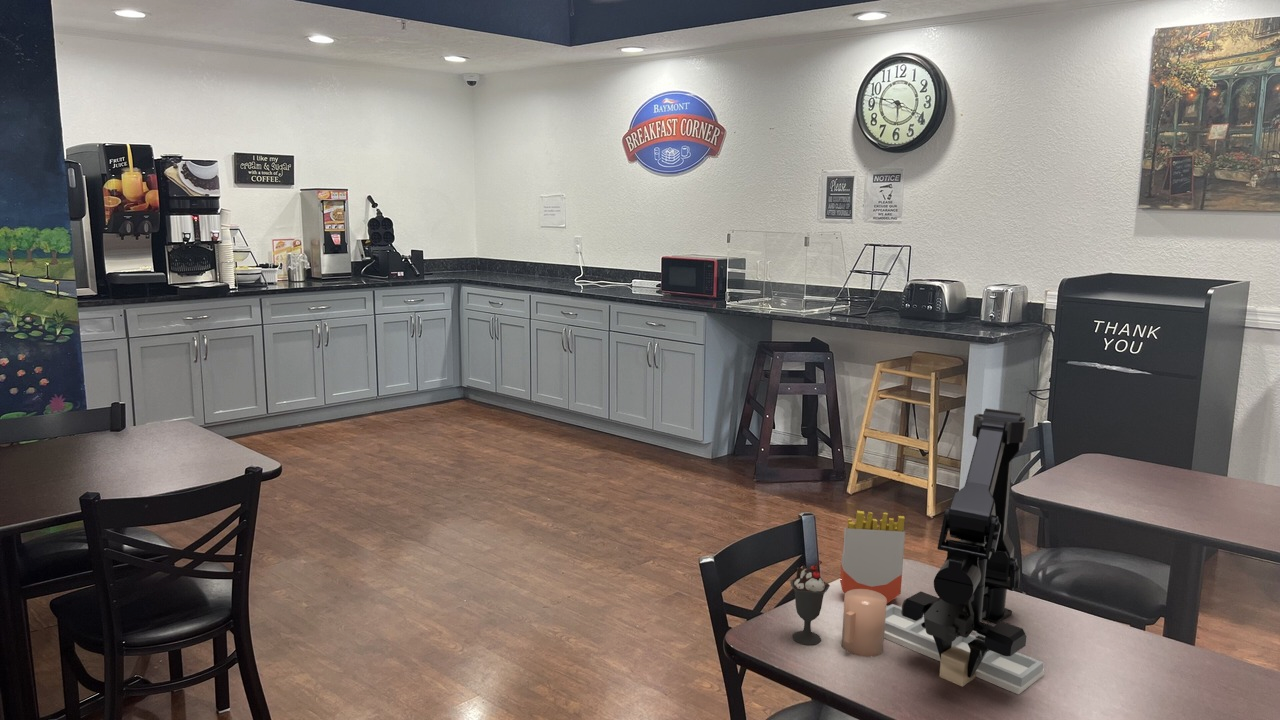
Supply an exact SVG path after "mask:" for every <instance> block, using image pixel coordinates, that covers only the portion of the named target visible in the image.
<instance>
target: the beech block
mask: <svg viewBox="0 0 1280 720" xmlns="http://www.w3.org/2000/svg"><path fill="white" fill-rule="evenodd" d="M969 656H970V652H968V651H965V650H963V649H960V648H958V647H955V646H953V647H952V648H950V649H948V650H947V651H945V652H943V653H942V654H941V662H939V663H940V664H939V665H940V666H939V678H942V679H944V680H946V681H948V682H950V683H953V684H956V685H958V686H960V687H964V686H965V685H967V684H968V683H970V682H972V681H973V680H974V679H975V678H976V676H975V673H974V675H973V676H972V677H971V678H969V677H968V663H969Z"/></svg>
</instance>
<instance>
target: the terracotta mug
mask: <svg viewBox="0 0 1280 720" xmlns="http://www.w3.org/2000/svg"><path fill="white" fill-rule="evenodd" d="M887 604H888V603H887V599H886V597H885V596H884V595H882V594H881V593H878V592H876V591H873V590H868V589H853V590H849V591H847V592H846V593H845V592H844V601H843V614H842V616H843V617H842V631H841V632H842V634H841V647H842V649H843V650H845V651H846V652H847V651H848V653H849V652H850V653H849V654H851V655H854V656H859V657H865V658H866V657H867V658H870V657H871V656H872V657H876V656H880V655H881V654H882V653H883V652H884V648H885V647H884V645H885V643H884V642H885V638H884V633H885V619H886V607H887V606H888V605H887ZM872 657H871V658H872Z"/></svg>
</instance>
